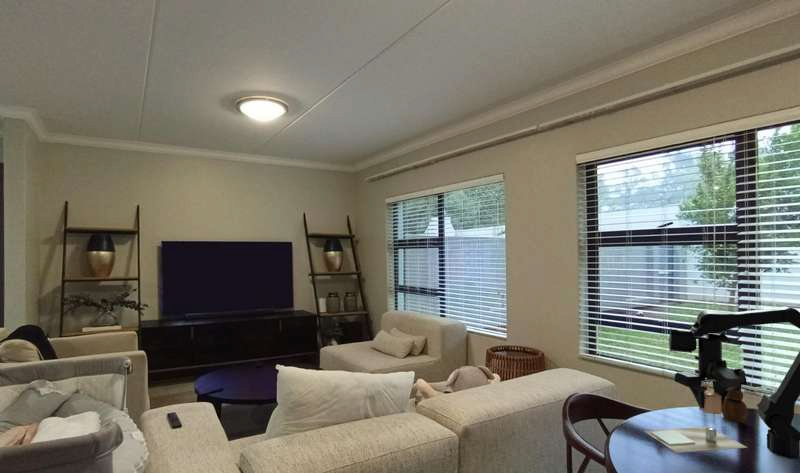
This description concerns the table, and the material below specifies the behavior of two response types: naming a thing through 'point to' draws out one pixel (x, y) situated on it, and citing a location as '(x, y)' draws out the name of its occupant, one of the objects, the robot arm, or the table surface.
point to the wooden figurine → (734, 406)
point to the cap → (712, 403)
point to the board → (700, 440)
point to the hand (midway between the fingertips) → (710, 407)
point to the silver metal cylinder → (711, 435)
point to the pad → (672, 438)
